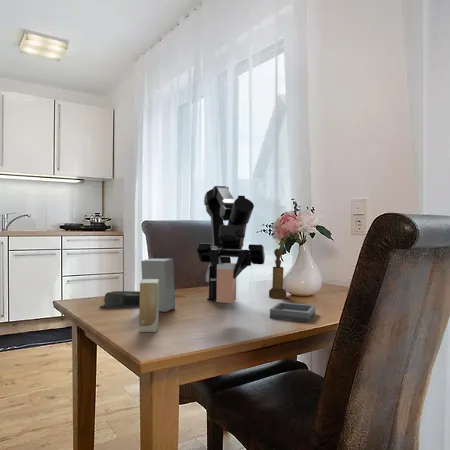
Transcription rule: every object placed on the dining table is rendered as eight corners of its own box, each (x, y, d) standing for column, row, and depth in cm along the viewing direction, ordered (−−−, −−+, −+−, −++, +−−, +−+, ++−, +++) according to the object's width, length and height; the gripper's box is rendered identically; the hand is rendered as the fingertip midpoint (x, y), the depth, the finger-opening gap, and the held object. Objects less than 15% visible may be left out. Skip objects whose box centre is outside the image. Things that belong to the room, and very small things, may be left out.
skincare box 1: (175, 308, 121) (176, 258, 121) (164, 313, 114) (165, 260, 114) (151, 306, 124) (152, 257, 124) (140, 310, 117) (140, 258, 117)
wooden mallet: (285, 298, 140) (286, 249, 140) (268, 298, 141) (268, 248, 141) (286, 295, 146) (287, 248, 146) (269, 294, 147) (270, 248, 147)
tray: (269, 318, 110) (270, 309, 110) (279, 310, 120) (279, 302, 120) (308, 322, 106) (308, 313, 106) (315, 313, 116) (315, 305, 116)
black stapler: (147, 290, 128) (100, 290, 123) (148, 291, 125) (100, 292, 120) (147, 305, 128) (99, 306, 123) (148, 307, 125) (99, 308, 120)
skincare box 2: (141, 325, 100) (142, 278, 100) (158, 325, 100) (159, 278, 100) (138, 332, 93) (139, 282, 93) (156, 332, 94) (157, 282, 94)
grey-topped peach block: (216, 301, 102) (216, 264, 102) (220, 298, 107) (221, 262, 107) (232, 302, 101) (233, 265, 101) (236, 299, 106) (236, 263, 106)
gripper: (199, 214, 110) (185, 256, 99) (263, 215, 106) (257, 258, 95) (206, 241, 118) (194, 282, 107) (267, 242, 113) (261, 285, 103)
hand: (225, 277), depth 103 cm, fingers closed on grey-topped peach block, 4 cm apart
